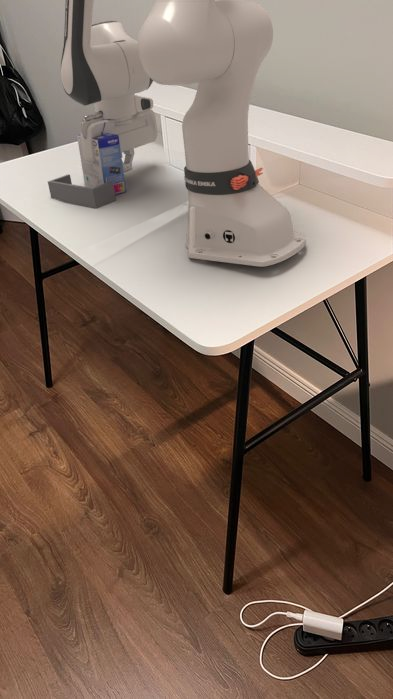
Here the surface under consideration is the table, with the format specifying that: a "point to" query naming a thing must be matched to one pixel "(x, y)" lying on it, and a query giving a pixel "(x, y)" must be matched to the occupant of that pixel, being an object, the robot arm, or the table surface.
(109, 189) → the bay
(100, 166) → the ink cartridge box
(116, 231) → the table surface
